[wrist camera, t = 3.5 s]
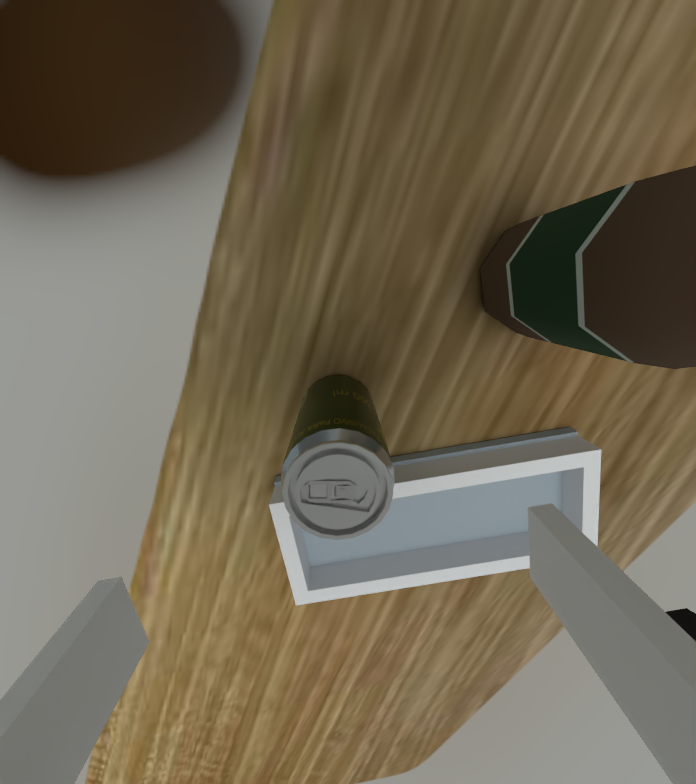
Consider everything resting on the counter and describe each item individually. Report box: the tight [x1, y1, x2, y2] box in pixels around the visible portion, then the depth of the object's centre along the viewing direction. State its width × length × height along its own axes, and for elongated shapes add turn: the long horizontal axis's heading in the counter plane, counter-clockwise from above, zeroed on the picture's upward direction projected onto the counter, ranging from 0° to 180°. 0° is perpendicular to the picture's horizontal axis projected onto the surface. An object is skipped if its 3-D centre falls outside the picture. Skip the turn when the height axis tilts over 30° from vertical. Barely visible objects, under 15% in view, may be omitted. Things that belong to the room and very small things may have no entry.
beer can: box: [281, 375, 395, 540], centre depth 21 cm, size 5×5×12 cm
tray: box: [269, 427, 601, 605], centre depth 28 cm, size 10×24×4 cm, turn 100°
